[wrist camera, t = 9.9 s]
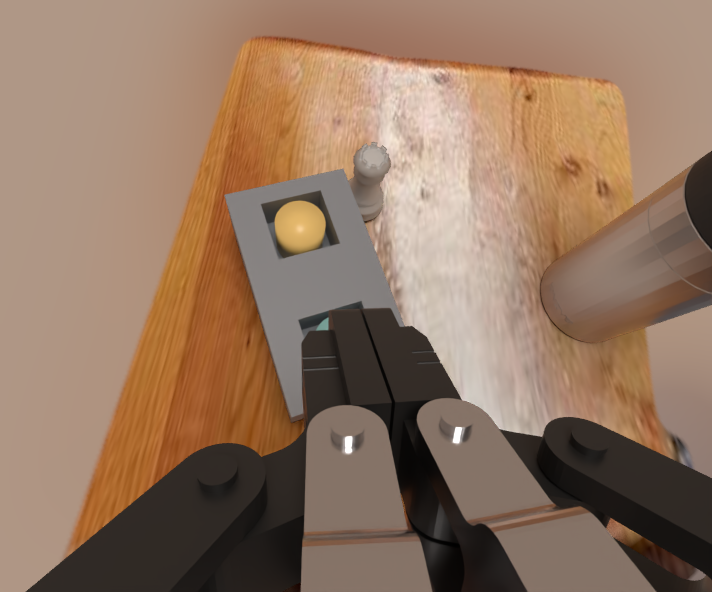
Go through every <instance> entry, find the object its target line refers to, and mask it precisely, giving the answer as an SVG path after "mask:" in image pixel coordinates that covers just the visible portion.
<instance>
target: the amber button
mask: <svg viewBox="0 0 712 592" xmlns="http://www.w3.org/2000/svg"><path fill="white" fill-rule="evenodd" d="M325 226H326V222H325V217H324V215H323V213H322V211H321V210H320V209H319V208H318V207H317V206H315V205H314V204H312V203H310V202H306V201H292V202H289V203H287V204H285V205H284V206H282V207H281V208H280V209H279V211H278V212H277V214H276V217H275V234H276V246H277V249H278V251H279V253H280V254H281V255H282V256H283V257H284V258H287V257H290V256H294V255H298V254H302V253H306V252H309V251H313V250H317V249H321V248H322V245H323V239H324V233H325Z"/></svg>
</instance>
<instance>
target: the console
mask: <svg viewBox="0 0 712 592" xmlns="http://www.w3.org/2000/svg"><path fill="white" fill-rule="evenodd" d="M225 199H226V203H227V207H228V210H229V214H230V218H231V222H232V226H233V229H234V233H235V237H236V240H237V243H238V247H239V250H240V254H241V257H242V260H243V264H244V267H245V270H246V274H247V277H248V280H249V284H250V287H251V290H252V294H253V297H254V300H255V304H256V307H257V310H258V314H259V317H260V320H261V324H262V327H263V331H264V334H265V337H266V341H267V344H268V347H269V351H270V354H271V357H272V361H273V364H274V367H275V371H276V374H277V377H278V381H279V384H280V387H281V391H282V394H283V397H284V401H285V404H286V407H287V411H288V414H289V418H290V421H291V423H292V422H295V421H298V420H300V419H303V418H304V414H303V400H302V355H301V343H302V341H303V340H304V338H305V337H306V335H307V333H308V332H309V331H316V329H317V327H318V326H319V325H320V323H321V322H322V321H323V320H325V319H326V318H328V317H329V310H340V309H365V308H391V309H392V311H393V313H394V316H395V318H396V320H397V322H398V324H399V326H400V327H405V326H404V323H403V321H402V318H401V316H400V313H399V310H398V308H397V305H396V303H395V300H394V298H393V295H392V292H391V290H390V287H389V285H388V282H387V280H386V277H385V275H384V272H383V269H382V267H381V264H380V262H379V259H378V257H377V254H376V251H375V249H374V246H373V244H372V241H371V239H370V236H369V233H368V231H367V228H366V226H365V223H364V221H363V218H362V216H361V213H360V210H359V208H358V205H357V203H356V200H355V198H354V195H353V192H352V190H351V187H350V185H349V182H348V180H347V177H346V174H345V172H344V169H340V170H335V171H331V172H326V173H321V174H317V175H312V176H308V177H303V178H299V179H294V180H290V181H285V182H281V183H276V184H272V185H267V186H263V187H258V188H254V189H249V190H244V191H240V192H235V193H231V194H226V195H225ZM292 201H306V202H310V203H312V204H314V205H315V206H317V207H318V208H319V209H320V210H321V211H322V213H323V215H324V217H325V222H326V226H325V233H324V239H323V245H322V248H321V249H317V250H313V251H309V252H306V253H302V254H298V255H294V256H290V257H287V258H284V257H283V256H282V255H281V254H280V253H279V251H278V249H277V246H276V234H275V217H276V214H277V212H278V211H279V209H280V208H281V207H282V206H284V205H285V204H287V203H289V202H292Z"/></svg>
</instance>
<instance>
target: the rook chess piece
mask: <svg viewBox="0 0 712 592" xmlns="http://www.w3.org/2000/svg"><path fill="white" fill-rule="evenodd" d="M386 150H387V149H386V148H385V147H384V146H383V145H382V147H381V148H379V147H377V143H375V142H372V143H371V146H368V145H367V144H365V145H363V146H362V148H360V149H359V150H357V152H356V153H355V155H354V165H355V167H354V177H353V178H351V179H350V180H349V181H348V182H349V185H350V187H351V190H352V192H353V195H354V198H355V200H356V203H357V205H358V208H359V210H360V213H361V216H362V218H363V221H368V220H372V219H374V218H375V217H376V216H377V215H379V213H380V211H381V209H382V205H383V197H384V195H383V192H382V189H381V187H380V182H381V181H382V180H383V178H384V176H385V174H386V173H388V171H389V169H390V167H391V160H390V158H389V154H387V153H386Z"/></svg>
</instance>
